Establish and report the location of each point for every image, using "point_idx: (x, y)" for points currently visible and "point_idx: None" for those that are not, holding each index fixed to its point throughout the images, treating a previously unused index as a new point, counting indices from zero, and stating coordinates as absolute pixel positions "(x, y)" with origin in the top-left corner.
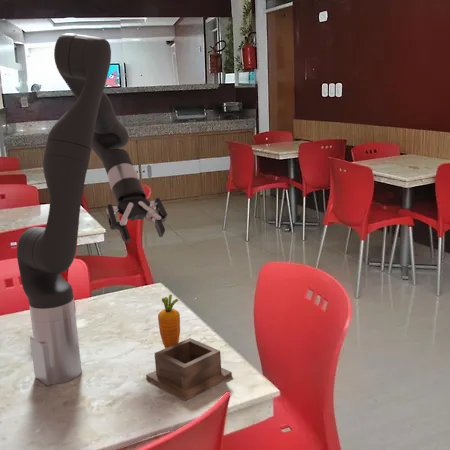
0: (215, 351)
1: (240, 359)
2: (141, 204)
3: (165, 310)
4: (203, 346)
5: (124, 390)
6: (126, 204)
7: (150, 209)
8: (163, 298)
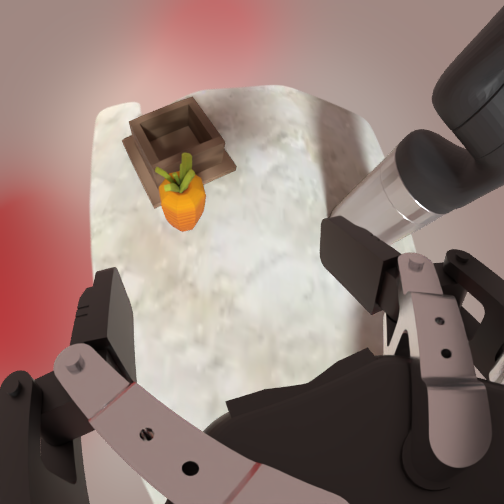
0: (135, 121)
1: (91, 183)
2: (291, 502)
3: (188, 186)
4: (145, 138)
5: (266, 155)
6: (486, 453)
7: (131, 436)
8: (190, 170)
